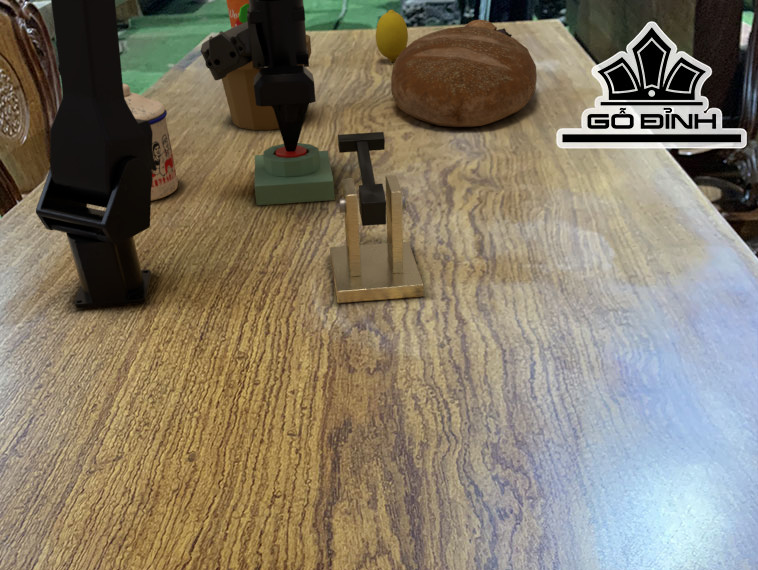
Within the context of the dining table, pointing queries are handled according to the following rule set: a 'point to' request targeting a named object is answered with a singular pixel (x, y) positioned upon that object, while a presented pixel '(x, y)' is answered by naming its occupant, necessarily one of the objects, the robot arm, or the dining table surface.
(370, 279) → the lever base
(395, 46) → the lemon
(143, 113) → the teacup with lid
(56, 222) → the robot arm
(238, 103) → the flowerpot
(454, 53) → the bread
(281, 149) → the button
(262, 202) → the control block
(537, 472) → the dining table surface
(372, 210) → the press lever
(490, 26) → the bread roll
